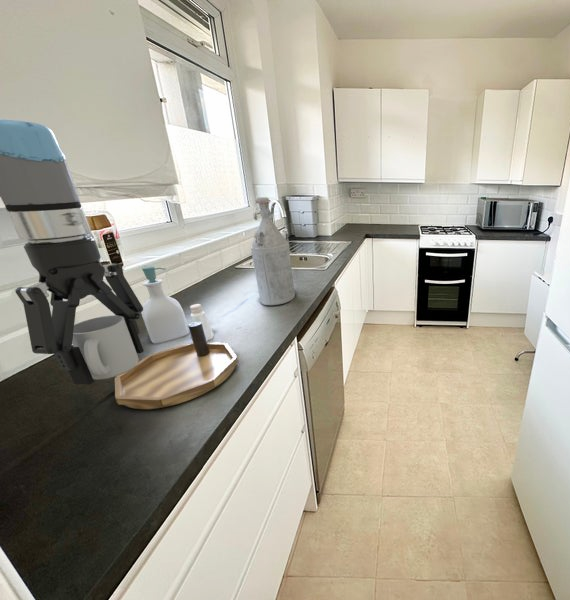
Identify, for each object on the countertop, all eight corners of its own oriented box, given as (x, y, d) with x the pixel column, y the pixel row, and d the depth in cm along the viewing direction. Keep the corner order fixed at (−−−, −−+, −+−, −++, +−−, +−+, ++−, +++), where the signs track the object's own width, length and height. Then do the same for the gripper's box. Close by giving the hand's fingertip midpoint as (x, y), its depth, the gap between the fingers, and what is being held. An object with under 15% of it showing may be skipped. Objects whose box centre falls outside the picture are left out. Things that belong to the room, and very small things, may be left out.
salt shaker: (218, 334, 99) (209, 302, 95) (207, 342, 94) (198, 309, 90) (201, 334, 99) (192, 301, 95) (190, 342, 94) (180, 309, 90)
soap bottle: (192, 337, 97) (171, 266, 88) (154, 348, 91) (127, 273, 82) (185, 327, 103) (165, 260, 95) (149, 337, 97) (124, 266, 89)
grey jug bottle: (253, 307, 118) (230, 198, 104) (271, 292, 134) (254, 195, 120) (286, 307, 118) (268, 197, 103) (300, 291, 134) (287, 194, 119)
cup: (143, 354, 61) (128, 312, 57) (130, 381, 52) (111, 334, 49) (95, 363, 58) (76, 320, 54) (73, 394, 49) (49, 345, 46)
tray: (88, 407, 67) (69, 367, 63) (172, 349, 89) (161, 317, 85) (195, 411, 65) (182, 370, 61) (253, 351, 87) (246, 319, 84)
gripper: (-14, 255, 36) (65, 409, 45) (143, 227, 56) (177, 337, 65) (-69, 255, 37) (18, 407, 45) (105, 227, 57) (144, 336, 65)
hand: (112, 366), depth 55 cm, fingers closed on cup, 9 cm apart
